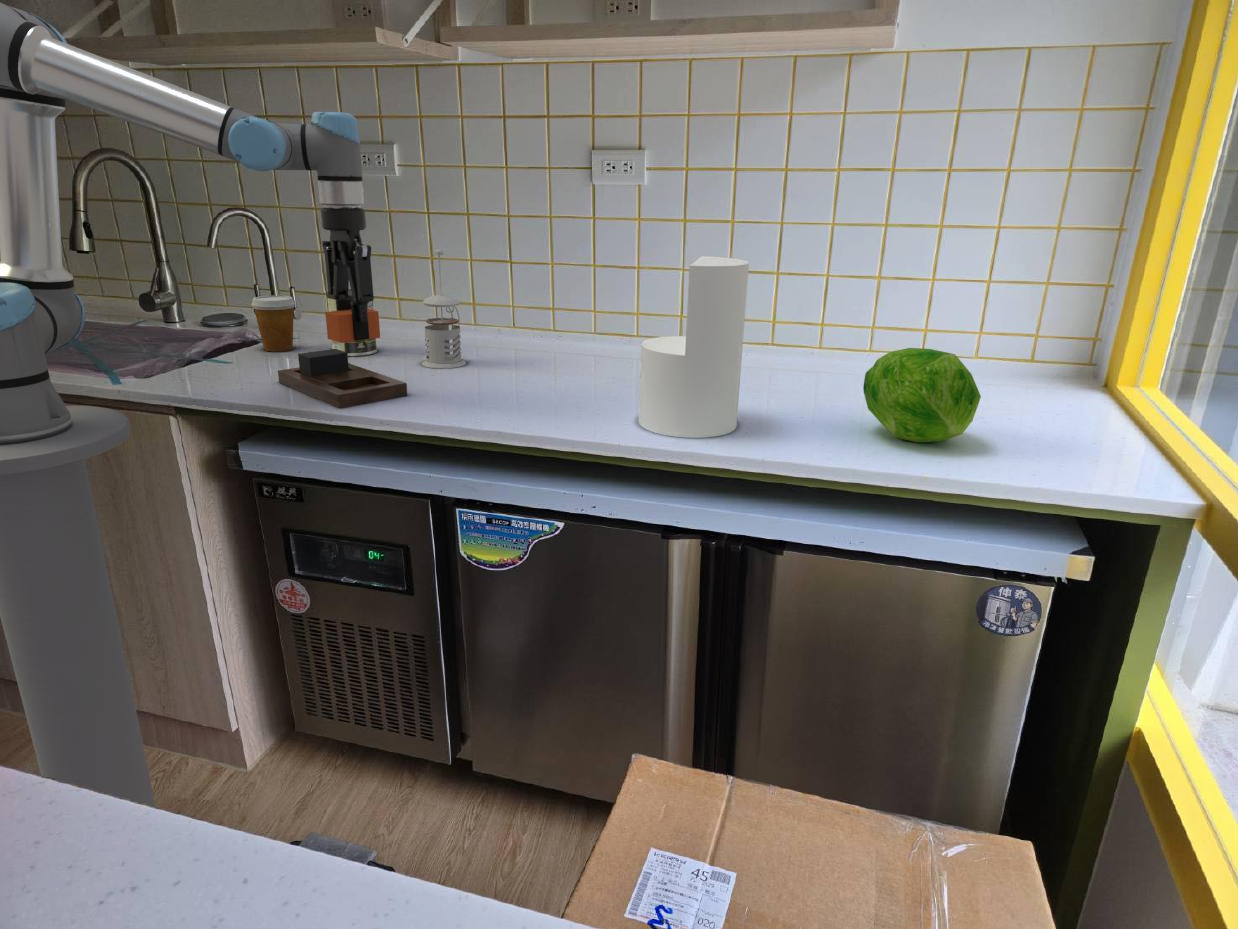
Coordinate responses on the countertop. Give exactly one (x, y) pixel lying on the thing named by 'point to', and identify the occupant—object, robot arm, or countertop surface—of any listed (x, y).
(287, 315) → the disposable coffee cup
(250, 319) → the countertop surface
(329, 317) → the orange block
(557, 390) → the countertop surface
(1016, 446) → the countertop surface
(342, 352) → the black rectangular block
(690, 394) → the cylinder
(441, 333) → the french press
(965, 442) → the countertop surface
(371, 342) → the coffee can
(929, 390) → the lettuce
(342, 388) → the brown wooden slotted tray
